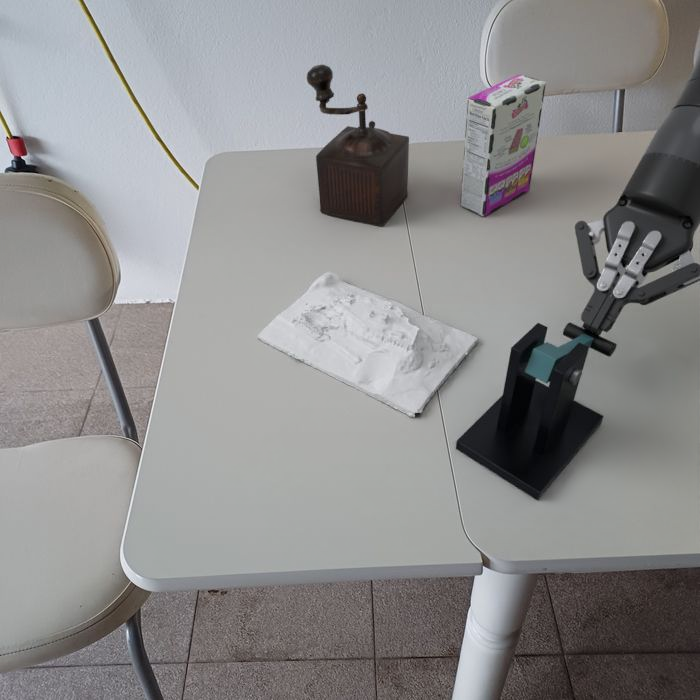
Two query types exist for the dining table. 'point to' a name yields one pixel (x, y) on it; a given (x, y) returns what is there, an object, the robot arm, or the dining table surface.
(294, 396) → the dining table surface
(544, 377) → the switch lever
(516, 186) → the candy bar box
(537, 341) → the switch bracket
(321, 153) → the manual coffee grinder
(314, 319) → the terrain model
